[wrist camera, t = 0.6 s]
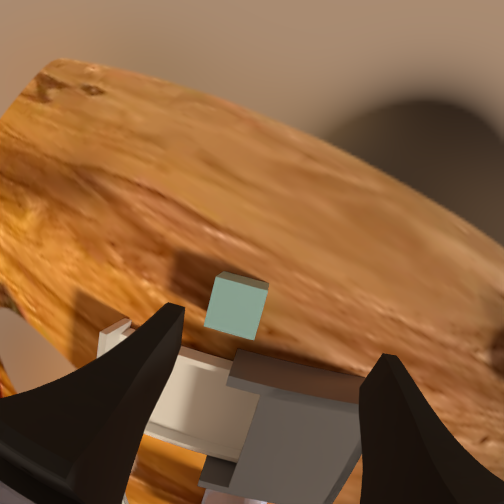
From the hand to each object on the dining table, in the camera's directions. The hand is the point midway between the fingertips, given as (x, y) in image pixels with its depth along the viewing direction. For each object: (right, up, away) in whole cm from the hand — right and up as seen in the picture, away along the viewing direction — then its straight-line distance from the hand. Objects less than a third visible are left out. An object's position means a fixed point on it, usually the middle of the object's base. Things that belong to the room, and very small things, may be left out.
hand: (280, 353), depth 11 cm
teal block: (-2, -1, +21) cm, 21 cm away
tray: (-8, -12, +21) cm, 26 cm away
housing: (+2, -15, +21) cm, 26 cm away
